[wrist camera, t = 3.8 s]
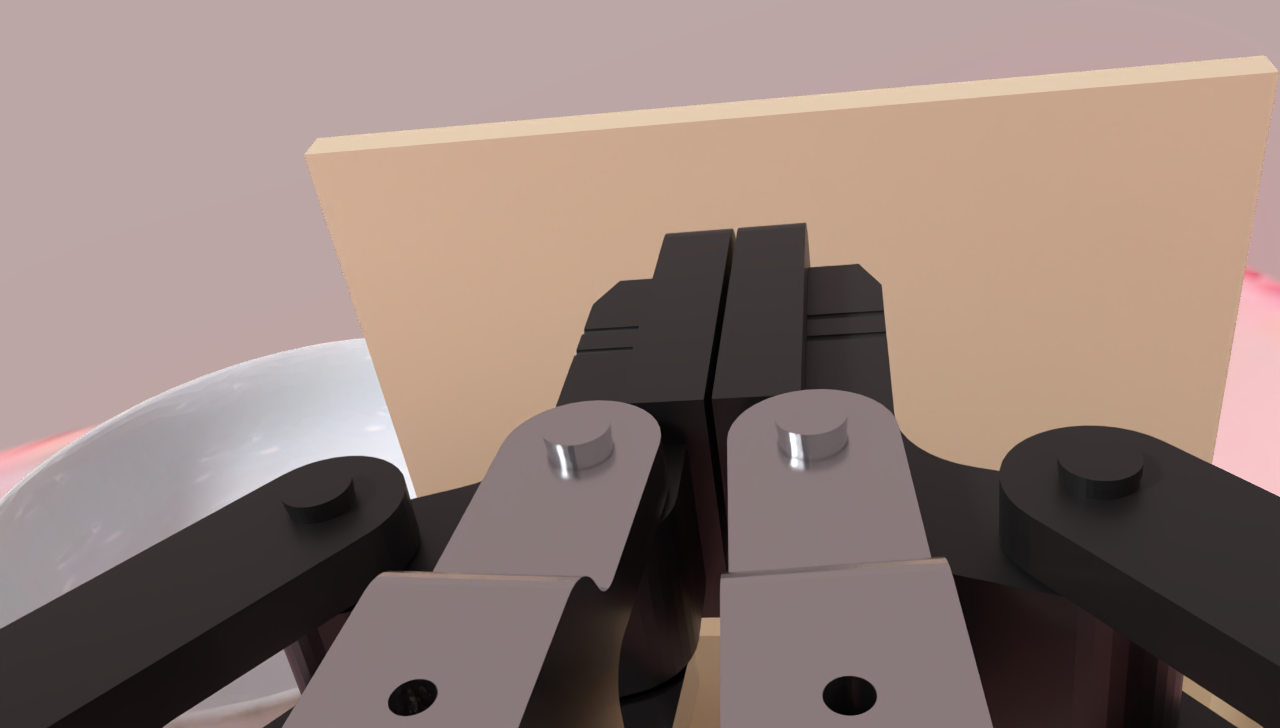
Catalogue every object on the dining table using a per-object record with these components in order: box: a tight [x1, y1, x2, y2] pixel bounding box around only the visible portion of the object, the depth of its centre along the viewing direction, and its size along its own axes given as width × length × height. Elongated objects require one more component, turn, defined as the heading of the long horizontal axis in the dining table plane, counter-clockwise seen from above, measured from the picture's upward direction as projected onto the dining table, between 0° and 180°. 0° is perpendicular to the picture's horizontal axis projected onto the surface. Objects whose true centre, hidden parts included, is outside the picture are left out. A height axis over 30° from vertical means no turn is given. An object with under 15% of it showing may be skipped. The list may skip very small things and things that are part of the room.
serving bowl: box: [0, 338, 417, 728], centre depth 41 cm, size 21×21×7 cm
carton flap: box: [304, 55, 1279, 498], centre depth 20 cm, size 10×14×1 cm
